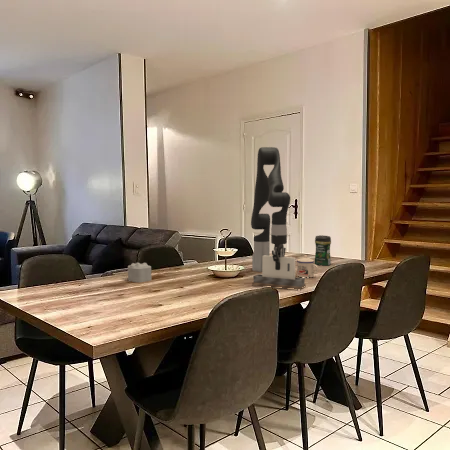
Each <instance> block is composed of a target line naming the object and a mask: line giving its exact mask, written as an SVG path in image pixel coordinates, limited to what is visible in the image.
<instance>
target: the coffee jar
mask: <svg viewBox="0 0 450 450" xmlns="http://www.w3.org/2000/svg"><path fill="white" fill-rule="evenodd" d="M331 238H332V237H331V236H328V235H322V234H321V235H319V234H318V235H315V239H314V244H315V255H314V264H315V265H317V266H320V265H322V266H323V267H325V266H327V267H329V266H330V265H331V264H332V262H331V244H332V239H331Z"/></svg>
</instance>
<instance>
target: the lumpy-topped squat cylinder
mask: <svg viewBox="0 0 450 450" xmlns="http://www.w3.org/2000/svg"><path fill="white" fill-rule="evenodd" d="M127 280H128V281H129V282H131V281H132V282H133V283H144V282H145V283H146V282H151V281H152V266H151V265H148V263H147V262H143V263H140V262H135V263H134V262H132V263H131V264H129V265H128V266H127Z"/></svg>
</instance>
